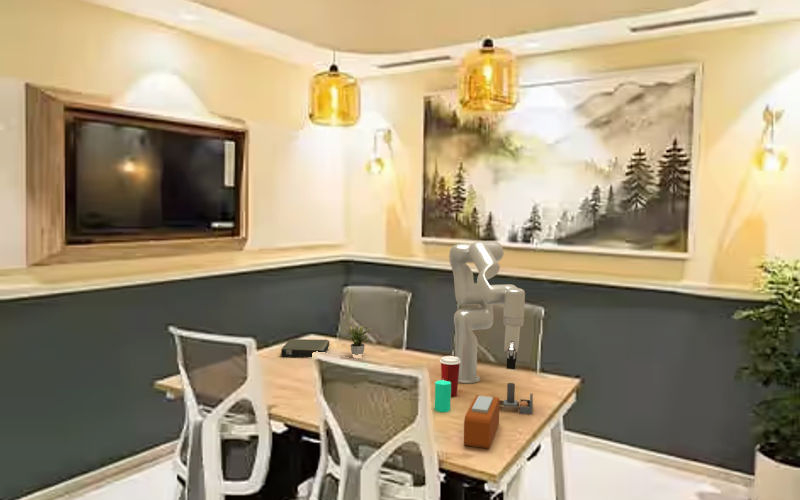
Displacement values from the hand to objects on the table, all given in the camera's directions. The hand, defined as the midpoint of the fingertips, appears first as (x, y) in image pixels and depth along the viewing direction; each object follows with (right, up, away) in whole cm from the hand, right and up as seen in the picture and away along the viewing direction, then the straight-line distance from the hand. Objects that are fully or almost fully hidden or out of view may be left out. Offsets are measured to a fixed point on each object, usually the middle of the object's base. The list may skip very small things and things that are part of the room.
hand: (511, 365), depth 229 cm
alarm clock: (-15, -19, -25) cm, 34 cm away
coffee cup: (-22, -15, +16) cm, 32 cm away
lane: (-5, -17, +2) cm, 18 cm away
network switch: (-90, -9, +78) cm, 119 cm away
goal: (+6, -17, 0) cm, 18 cm away
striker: (0, -17, +1) cm, 17 cm away
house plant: (-63, -10, +69) cm, 94 cm away
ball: (+5, -15, 0) cm, 16 cm away
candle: (-26, -17, -1) cm, 31 cm away
